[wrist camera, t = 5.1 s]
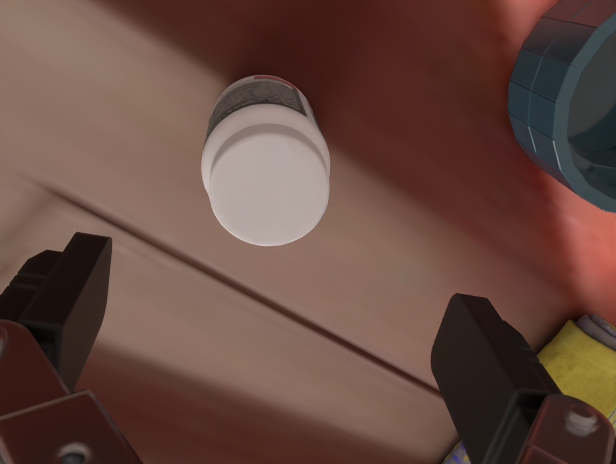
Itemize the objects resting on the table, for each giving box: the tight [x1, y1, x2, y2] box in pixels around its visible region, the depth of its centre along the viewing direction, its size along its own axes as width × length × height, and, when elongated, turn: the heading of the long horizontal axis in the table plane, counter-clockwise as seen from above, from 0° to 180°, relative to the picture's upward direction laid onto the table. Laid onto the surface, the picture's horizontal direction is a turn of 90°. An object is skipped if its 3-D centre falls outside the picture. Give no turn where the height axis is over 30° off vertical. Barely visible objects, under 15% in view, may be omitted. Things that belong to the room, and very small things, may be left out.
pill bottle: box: [201, 75, 330, 246], centre depth 23 cm, size 5×5×8 cm
